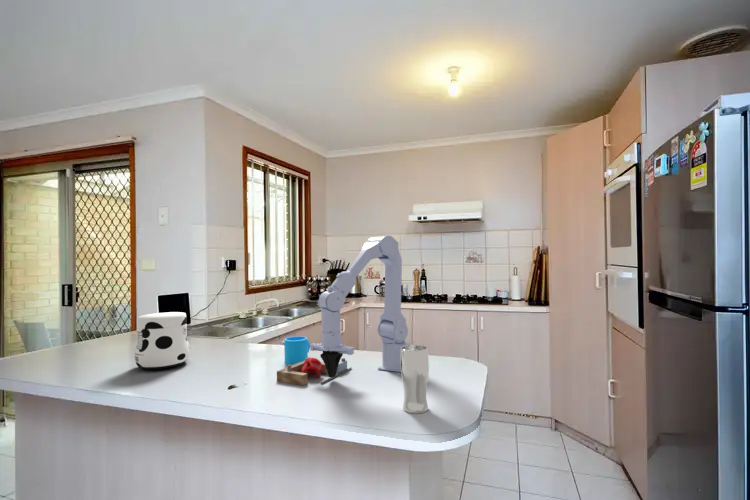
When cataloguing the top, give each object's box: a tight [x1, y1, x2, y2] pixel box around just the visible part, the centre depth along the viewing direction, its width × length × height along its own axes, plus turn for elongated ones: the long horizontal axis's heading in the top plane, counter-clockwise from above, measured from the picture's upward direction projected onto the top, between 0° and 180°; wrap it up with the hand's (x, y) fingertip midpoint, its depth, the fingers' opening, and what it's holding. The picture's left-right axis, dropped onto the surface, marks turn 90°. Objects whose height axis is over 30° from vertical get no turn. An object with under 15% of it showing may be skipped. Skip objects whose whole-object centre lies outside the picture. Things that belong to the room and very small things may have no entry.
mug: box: [283, 335, 311, 365], centre depth 148 cm, size 12×8×8 cm
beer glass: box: [400, 344, 430, 415], centre depth 99 cm, size 7×7×15 cm
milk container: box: [134, 311, 191, 370], centre depth 144 cm, size 17×17×18 cm
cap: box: [301, 357, 323, 378], centre depth 128 cm, size 8×6×6 cm
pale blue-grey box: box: [336, 357, 348, 374], centre depth 132 cm, size 2×5×4 cm, turn 152°
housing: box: [276, 358, 352, 386], centre depth 129 cm, size 14×20×4 cm
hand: (332, 376), depth 122 cm, fingers closed
